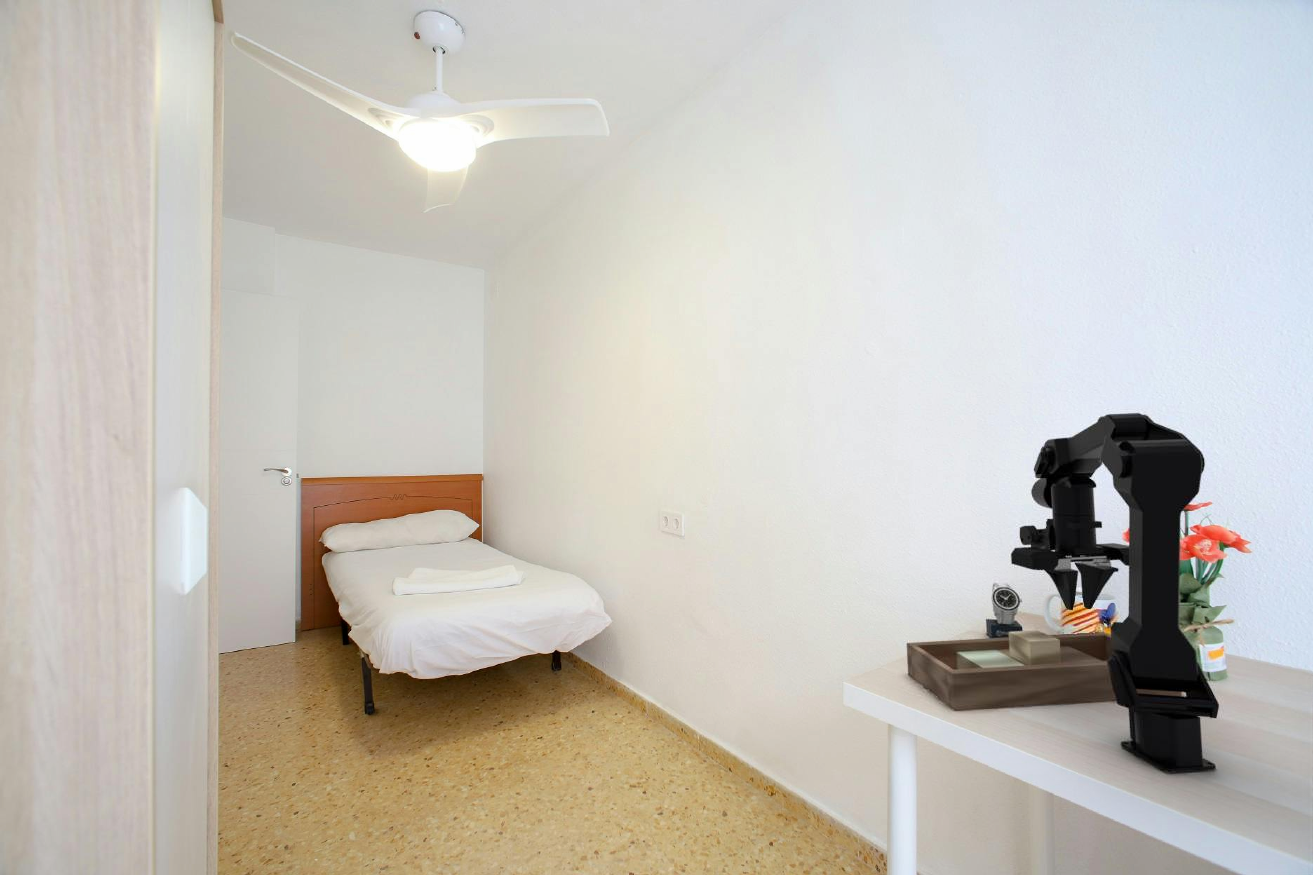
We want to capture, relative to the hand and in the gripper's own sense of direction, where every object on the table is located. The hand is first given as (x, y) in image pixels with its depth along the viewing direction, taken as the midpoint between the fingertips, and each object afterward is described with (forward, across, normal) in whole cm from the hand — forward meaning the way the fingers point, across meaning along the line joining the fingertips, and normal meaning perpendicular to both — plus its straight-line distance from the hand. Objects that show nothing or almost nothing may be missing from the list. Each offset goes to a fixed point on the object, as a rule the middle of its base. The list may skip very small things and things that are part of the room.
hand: (1078, 608), depth 94 cm
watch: (+12, -2, -22) cm, 25 cm away
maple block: (+8, +8, 0) cm, 11 cm away
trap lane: (+12, +8, 0) cm, 14 cm away
